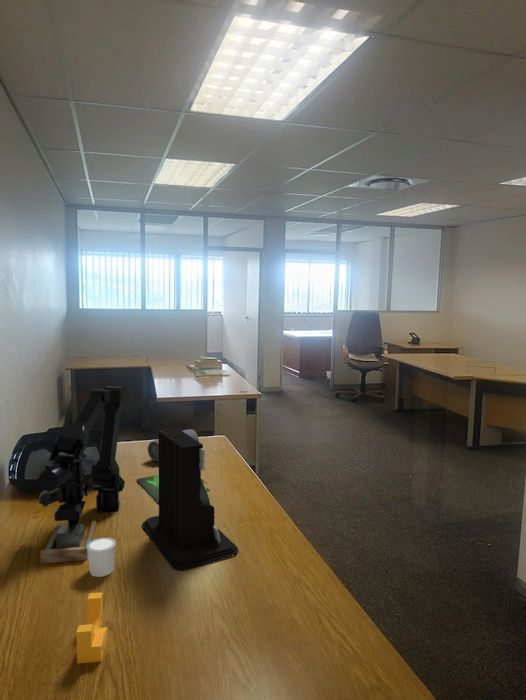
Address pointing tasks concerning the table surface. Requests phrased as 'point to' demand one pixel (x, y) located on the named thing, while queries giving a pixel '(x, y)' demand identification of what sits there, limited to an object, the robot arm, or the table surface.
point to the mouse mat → (154, 486)
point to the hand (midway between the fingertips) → (73, 530)
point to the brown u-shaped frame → (66, 549)
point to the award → (185, 506)
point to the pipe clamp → (92, 632)
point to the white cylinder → (101, 556)
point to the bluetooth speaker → (154, 445)
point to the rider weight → (70, 535)
